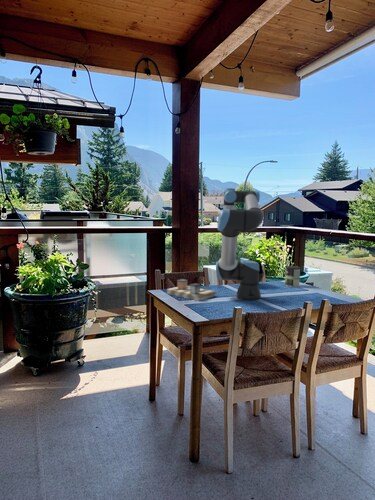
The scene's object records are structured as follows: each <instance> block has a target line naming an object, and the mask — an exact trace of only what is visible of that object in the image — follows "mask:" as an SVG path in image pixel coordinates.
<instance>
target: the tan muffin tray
mask: <svg viewBox="0 0 375 500" xmlns="http://www.w3.org/2000/svg"><path fill="white" fill-rule="evenodd" d="M166 294H167V295H169V296H170V295H171V296H174V297H180V298H185V299H189V300H193V301H198V302H200V301H203V300H206V299H207V300H208V299H210V298H213V297H216V291H215V290H212V289H211V290H210V289H205V288H201V287H200V293H197V294H193V293H190V286H189V285H187V288H185V289H179V288H177V286H175V287H170V288H167V289H166Z"/></svg>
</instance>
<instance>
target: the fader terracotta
mask: <svg viewBox="0 0 375 500" xmlns="http://www.w3.org/2000/svg"><path fill="white" fill-rule="evenodd" d="M176 281H177V286H176V287H177V288H179V289H185V288H187V286H188V282H189V280H188V279H184V278H181V279H177V280H176Z"/></svg>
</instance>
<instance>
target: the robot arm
mask: <svg viewBox="0 0 375 500" xmlns="http://www.w3.org/2000/svg"><path fill="white" fill-rule="evenodd" d="M260 194H261V193H260V192H259V191H257V190H236V188H231V187H230V188H227V187H226V188H224V190H223V208H222V209H221V210H220V211H219V213H218V218H217V226H216V227H217V231H219V233H220V234H221V250H220V251H221V253H220V254H221V256H220V258H219V260H218V261H216V262H215V273H216V278H217V279H218V280H219V281H239V285H238V287H237V288H238V289H237V292H236V298H238V299H240V300H243V301H244V300H246V301H256V300H261V298H262V294H261V293H262V292H261V290H260V286H259V283H260V282H259V264H258V263H257V261H256V260H253V261H251V260H249V259H240V260H239V261H238V260H237V259H236V257H237V256H236V255H237V248H238V247H237V245H238V236H239V235H240V234H241V232H251V231H254V230H256V229H258V227H260V226H261V225H262V223H263V221H264V212H263V210H262V209H261V208H260V206H259V202H260ZM236 204H244V205H245V209H236ZM255 261H256V262H255Z"/></svg>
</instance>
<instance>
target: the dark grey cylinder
mask: <svg viewBox="0 0 375 500" xmlns="http://www.w3.org/2000/svg"><path fill="white" fill-rule="evenodd" d="M248 260H251V261H255V262H257V263H258V264H259V283H260V282H261V281H262V280H263V277H264V275H265V272H264V270H263V265H262V263H261V262H259V261H258V260H253V259H252V258H249V259H248Z"/></svg>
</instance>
